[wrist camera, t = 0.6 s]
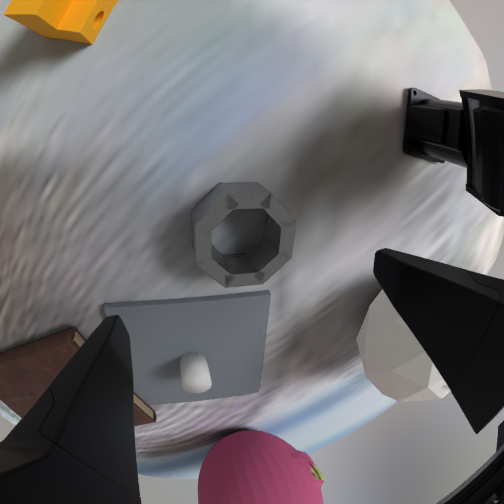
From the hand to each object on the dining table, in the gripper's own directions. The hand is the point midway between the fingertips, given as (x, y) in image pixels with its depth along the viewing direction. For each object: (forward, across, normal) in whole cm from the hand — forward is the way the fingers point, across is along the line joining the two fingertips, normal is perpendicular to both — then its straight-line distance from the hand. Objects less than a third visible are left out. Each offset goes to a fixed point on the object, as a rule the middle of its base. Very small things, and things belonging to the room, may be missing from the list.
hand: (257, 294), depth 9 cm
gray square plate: (+12, +5, +15) cm, 20 cm away
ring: (+12, -1, +3) cm, 13 cm away
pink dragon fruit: (+12, +4, +34) cm, 37 cm away
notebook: (+12, +22, +17) cm, 30 cm away
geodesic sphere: (+13, -17, +16) cm, 27 cm away
